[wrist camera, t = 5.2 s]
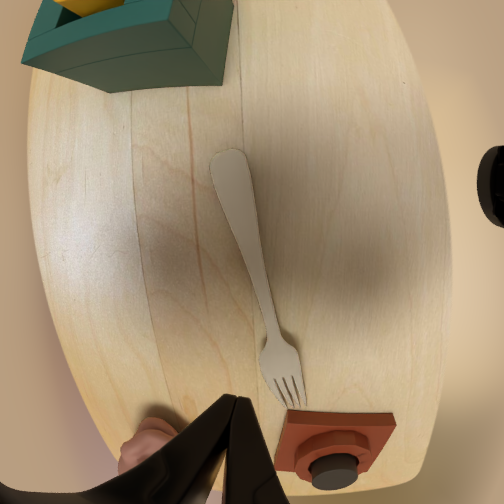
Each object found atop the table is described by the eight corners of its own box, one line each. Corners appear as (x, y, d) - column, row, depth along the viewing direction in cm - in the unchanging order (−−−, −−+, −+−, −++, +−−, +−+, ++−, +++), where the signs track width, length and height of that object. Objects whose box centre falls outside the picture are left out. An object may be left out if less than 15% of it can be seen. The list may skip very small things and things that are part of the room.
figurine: (200, 408, 24) (156, 514, 12) (220, 470, 26) (196, 554, 15) (119, 397, 25) (61, 478, 13) (151, 459, 28) (116, 530, 16)
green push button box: (234, 5, 15) (199, -78, 6) (222, 85, 17) (167, 19, 8) (126, 19, 16) (57, -31, 7) (109, 93, 18) (20, 63, 9)
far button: (361, 451, 19) (364, 468, 17) (347, 473, 20) (349, 490, 18) (317, 451, 20) (318, 469, 18) (307, 473, 21) (306, 490, 19)
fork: (251, 151, 20) (245, 142, 17) (312, 404, 22) (313, 424, 19) (214, 162, 21) (202, 155, 18) (280, 409, 23) (277, 429, 20)
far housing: (392, 412, 22) (401, 439, 18) (364, 460, 24) (369, 484, 20) (287, 409, 23) (286, 438, 19) (274, 458, 25) (271, 483, 21)
